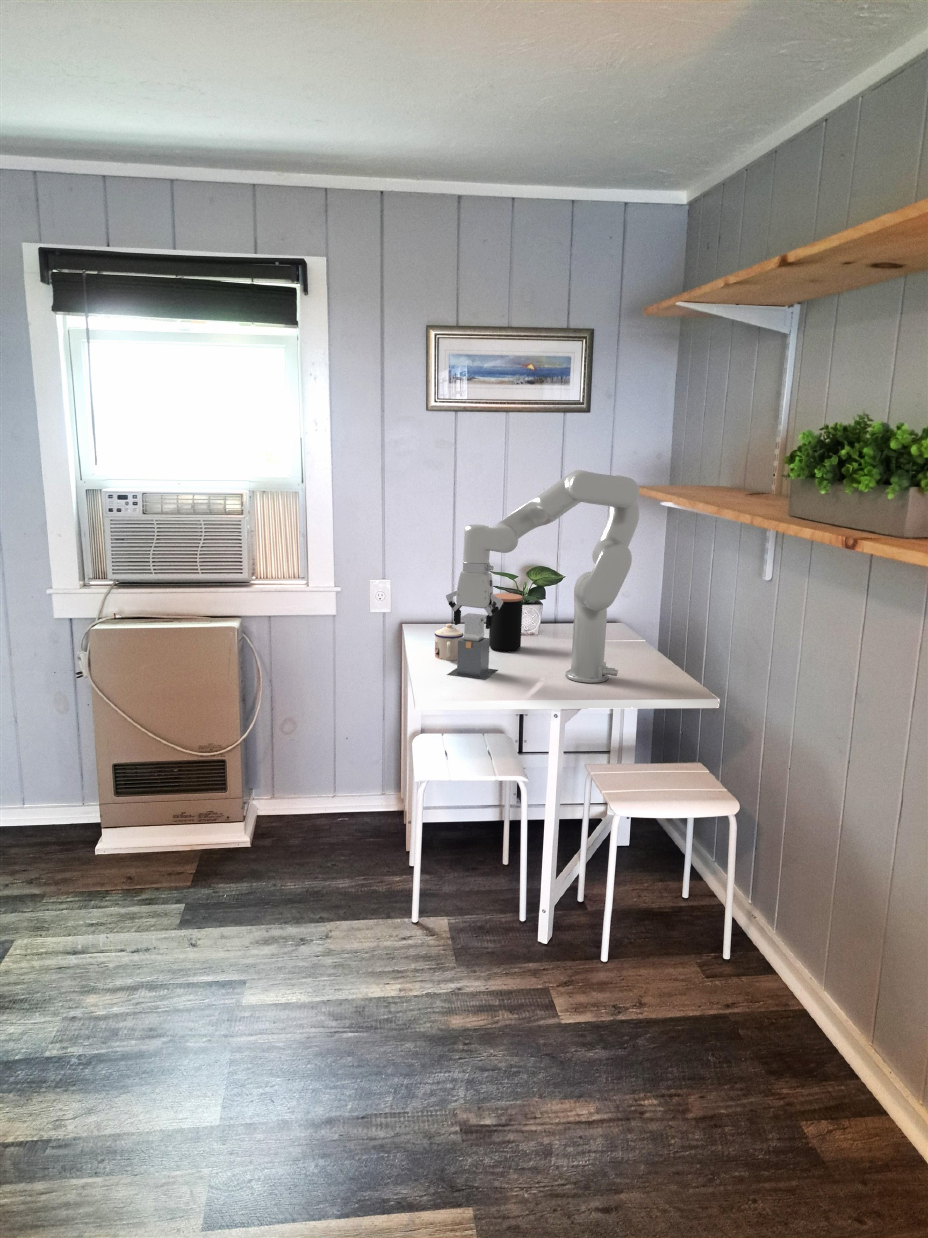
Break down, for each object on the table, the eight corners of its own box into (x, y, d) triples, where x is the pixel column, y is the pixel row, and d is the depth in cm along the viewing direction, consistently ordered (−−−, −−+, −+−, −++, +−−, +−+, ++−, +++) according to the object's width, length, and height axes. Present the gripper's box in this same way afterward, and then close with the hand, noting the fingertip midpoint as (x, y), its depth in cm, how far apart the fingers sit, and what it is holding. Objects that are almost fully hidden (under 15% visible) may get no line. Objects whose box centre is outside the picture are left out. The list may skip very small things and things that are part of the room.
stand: (498, 673, 252) (499, 637, 249) (485, 684, 241) (486, 646, 238) (461, 668, 256) (462, 633, 253) (446, 678, 245) (447, 641, 242)
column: (485, 671, 250) (487, 615, 246) (478, 676, 244) (480, 618, 241) (466, 668, 252) (468, 613, 248) (459, 673, 246) (461, 616, 243)
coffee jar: (521, 645, 286) (523, 593, 283) (519, 653, 276) (522, 599, 272) (489, 644, 287) (491, 592, 284) (487, 651, 277) (489, 598, 273)
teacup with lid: (434, 656, 269) (435, 620, 267) (462, 657, 270) (463, 621, 267) (433, 666, 258) (434, 629, 255) (463, 667, 258) (464, 630, 255)
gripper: (508, 569, 242) (505, 627, 245) (452, 563, 248) (450, 620, 251) (500, 572, 235) (496, 632, 239) (443, 566, 241) (440, 625, 244)
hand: (472, 626), depth 245 cm, fingers open, 9 cm apart
